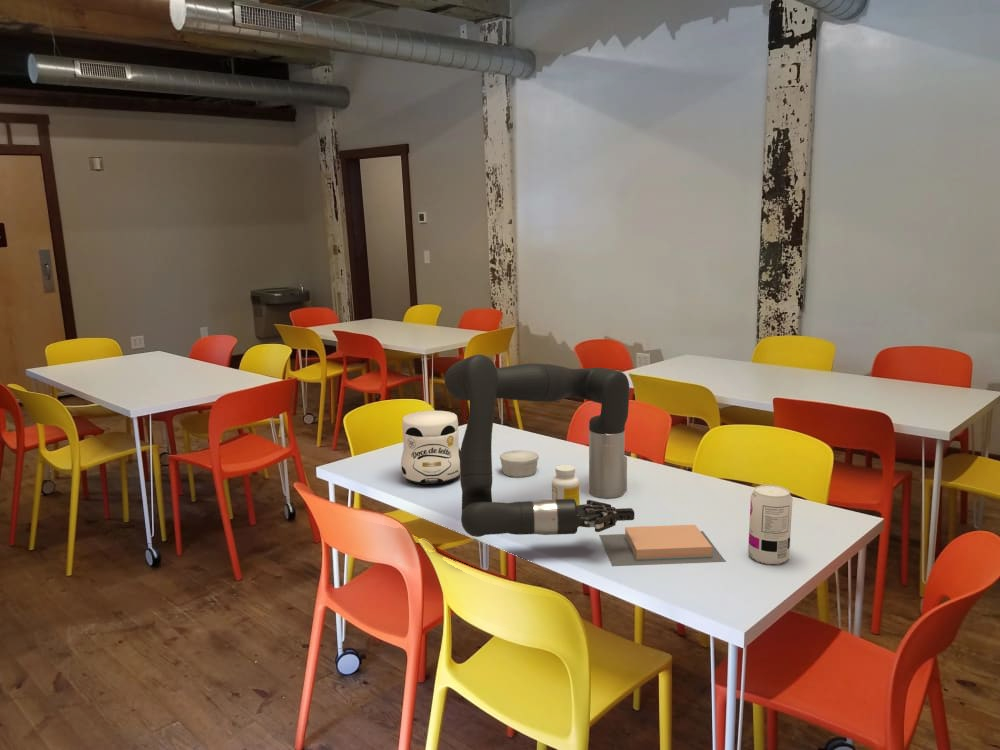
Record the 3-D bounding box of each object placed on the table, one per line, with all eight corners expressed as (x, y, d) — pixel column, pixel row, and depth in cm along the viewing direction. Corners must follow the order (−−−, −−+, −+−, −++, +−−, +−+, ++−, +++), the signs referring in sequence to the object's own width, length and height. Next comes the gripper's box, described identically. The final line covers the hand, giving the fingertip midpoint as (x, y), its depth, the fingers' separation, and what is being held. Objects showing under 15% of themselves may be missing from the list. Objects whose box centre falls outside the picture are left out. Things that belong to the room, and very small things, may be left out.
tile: (636, 549, 161) (711, 546, 161) (625, 527, 173) (695, 524, 173) (636, 560, 161) (711, 557, 162) (625, 537, 173) (694, 534, 174)
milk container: (425, 493, 205) (423, 429, 201) (389, 478, 218) (386, 417, 214) (475, 478, 216) (473, 416, 212) (438, 464, 229) (436, 406, 225)
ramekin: (522, 464, 228) (522, 447, 227) (547, 473, 219) (546, 455, 218) (492, 472, 221) (491, 454, 220) (516, 481, 213) (516, 463, 212)
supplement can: (741, 558, 163) (744, 491, 160) (759, 546, 168) (762, 481, 165) (777, 569, 157) (781, 500, 154) (795, 556, 163) (799, 489, 160)
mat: (612, 567, 159) (612, 566, 159) (599, 536, 175) (599, 534, 175) (725, 563, 160) (726, 561, 160) (702, 532, 176) (702, 531, 176)
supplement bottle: (583, 515, 187) (584, 465, 185) (572, 525, 182) (572, 473, 179) (559, 511, 191) (559, 461, 188) (547, 520, 185) (546, 469, 183)
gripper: (557, 511, 158) (640, 509, 158) (550, 489, 171) (627, 487, 171) (557, 545, 159) (640, 542, 160) (550, 521, 172) (627, 518, 173)
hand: (633, 514), depth 166 cm, fingers closed
